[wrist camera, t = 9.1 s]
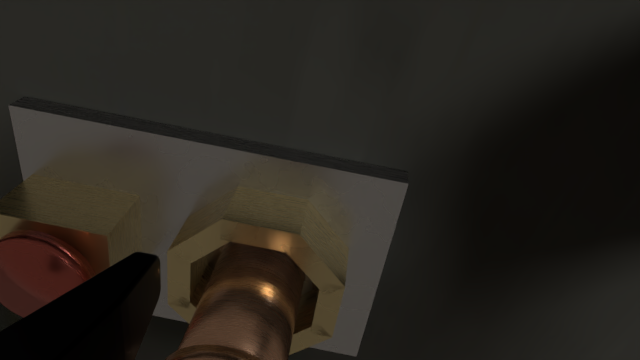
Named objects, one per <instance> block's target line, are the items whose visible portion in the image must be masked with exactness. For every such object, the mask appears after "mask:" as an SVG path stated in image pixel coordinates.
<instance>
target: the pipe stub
mask: <svg viewBox="0 0 640 360" xmlns="http://www.w3.org/2000/svg"><path fill="white" fill-rule="evenodd" d="M304 279H305V273H304V272H303V271H302V269H301V268H300V267H299V266H298V265H297V264H296V263H295V262H294V261H293V259H292V258H291V257H290V256H289V255H288V254H287V253H286V252H281V251H276V250H271V249H266V248H261V247H256V246H251V245H246V244H241V243H236V242H231V241H230V242H228V243H227V244H225V245H224V247H223V250H222V252H221V254H220V256H219V259H218V261H217V263H216V265H215V268H214V270H213V272H212V274H211V276H210V279H209V281H208V283H207V285H206V288H205V290H204V292H203V294H202V297H201V299H200V301H199V303H198V305H197V308H196V310H195V312H194V314H193V317H192V319H191V321H190V323H189V326H188V328H187V330H186V332H185V334H184V337H183V339H182V341H181V343H180V346H179V348H178V350H177V351H175V352H174V353H172V354H170V355H169V356H168V357H167V358H166V359H165V360H288V357H289V352H290V347H291V342H292V338H293V333H294V328H295V323H296V318H297V313H298V308H299V303H300V298H301V293H302V288H303V284H304Z"/></svg>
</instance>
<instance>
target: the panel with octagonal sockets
mask: <svg viewBox="0 0 640 360" xmlns="http://www.w3.org/2000/svg"><path fill="white" fill-rule="evenodd" d="M9 110H10V115H11V121H12V126H13V131H14V136H15V141H16V146H17V151H18V156H19V161H20V166H21V172H22V177H23V182H22V183H21V184H19V185H18V186H17V187H16V188H14V189H13V190H12V191H11V192H9V193H8V194H7V195H6V196H4V197H3V198H2V199H1V200H0V303H1V304H2V305H4V306H5V307H6V308H8V309H9V310H11V311H12V312H14V313H16V314H17V315H19V316H21V317H23V318H24V317H26V316H28V315H29V314H31V313H33V312H34V311H36V310H38V309H39V308H41V307H43V306H44V305H46V304H48V303H49V302H51V301H53V300H55V299H56V298H58V297H60V296H61V295H63V294H65V293H66V292H68V291H70V290H71V289H73V288H75V287H76V286H78V285H80V284H82V283H83V282H85V281H87V280H88V279H90V278H92V277H93V276H95V275H97V274H98V273H100V272H102V271H104V270H105V269H107V268H109V267H110V266H112V265H114V264H115V263H117V262H119V261H120V260H122V259H124V258H125V257H127V256H129V255H131V254H132V253H134V252H144V253H149V254H154V255H157V256H158V257H159V259H160V271H161V291H160V296H159V300H158V302H157V305H156V307H155V310H154V312H153V316H158V317H163V318H168V319H173V320H178V321H183V322H188V323H190V321H191V319H192V317H193V314H194V312H195V310H196V308H197V305H198V303H199V301H200V299H201V297H202V294H203V292H204V290H205V288H206V285H207V283H208V281H209V279H210V276H211V274H212V272H213V270H214V268H215V265H216V263H217V261H218V259H219V256H220V254H221V252H222V250H223V247H224V245H225V244H227V243H228V242H230V241H231V242H236V243H241V244H246V245H251V246H256V247H261V248H266V249H271V250H276V251H281V252H286V253H287V254H288V255H289V256H290V257H291V258H292V259H293V261H294V262H295V263H296V264H297V265H298V266H299V267H300V268H301V269H302V271H303V272H304V273H305V279H304V284H303V288H302V293H301V298H300V303H299V308H298V313H297V318H296V323H295V328H294V333H293V338H292V342H291V347H290V352H289V355H291V354H293V353H296V352H298V351H300V350H303V349H305V348H308V347H311V348H316V349H321V350H326V351H331V352H336V353H341V354H346V355H351V356H355V357H356V356H357V353H358V350H359V346H360V343H361V340H362V336H363V333H364V330H365V326H366V323H367V320H368V316H369V313H370V310H371V306H372V303H373V300H374V297H375V293H376V290H377V287H378V283H379V280H380V277H381V273H382V270H383V267H384V263H385V260H386V257H387V253H388V250H389V247H390V244H391V240H392V237H393V234H394V230H395V227H396V224H397V220H398V217H399V214H400V210H401V207H402V204H403V200H404V197H405V194H406V190H407V187H408V172H406V171H401V170H396V169H391V168H385V167H380V166H375V165H370V164H365V163H360V162H355V161H350V160H345V159H340V158H334V157H329V156H324V155H319V154H314V153H309V152H304V151H299V150H294V149H289V148H283V147H278V146H273V145H268V144H263V143H258V142H253V141H248V140H243V139H238V138H232V137H227V136H222V135H217V134H212V133H207V132H202V131H197V130H192V129H187V128H181V127H176V126H171V125H166V124H161V123H156V122H151V121H146V120H141V119H136V118H130V117H125V116H120V115H115V114H110V113H105V112H100V111H95V110H90V109H84V108H79V107H74V106H69V105H64V104H59V103H54V102H49V101H44V100H39V99H33V98H28V97H22V98H20V99H19V100H17V101H15V102H13V103H12V104H10V105H9Z"/></svg>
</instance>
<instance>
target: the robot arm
mask: <svg viewBox="0 0 640 360" xmlns="http://www.w3.org/2000/svg"><path fill="white" fill-rule="evenodd" d="M160 291H161V271H160V259H159V257H158V256H157V255H154V254H149V253H144V252H134V253H132V254H131V255H129V256H127V257H125V258H124V259H122V260H120V261H119V262H117V263H115V264H114V265H112V266H110V267H109V268H107V269H105V270H104V271H102V272H100V273H98V274H97V275H95V276H93V277H92V278H90V279H88V280H87V281H85V282H83V283H82V284H80V285H78V286H76V287H75V288H73V289H71V290H70V291H68V292H66V293H65V294H63V295H61V296H60V297H58V298H56V299H55V300H53V301H51V302H49V303H48V304H46V305H44V306H43V307H41V308H39V309H38V310H36V311H34V312H33V313H31V314H29V315H28V316H26V317H24V318H22V319H21V320H19V321H17V322H16V323H14V324H12V325H11V326H9V327H7V328H6V329H4V330H2V331H0V360H134V359H135V357H136V354H137V352H138V349H139V347H140V345H141V342H142V340H143V337H144V335H145V332H146V330H147V327H148V325H149V322H150V320H151V317H152V315H153V312H154V310H155V307H156V305H157V302H158V300H159V296H160Z"/></svg>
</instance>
